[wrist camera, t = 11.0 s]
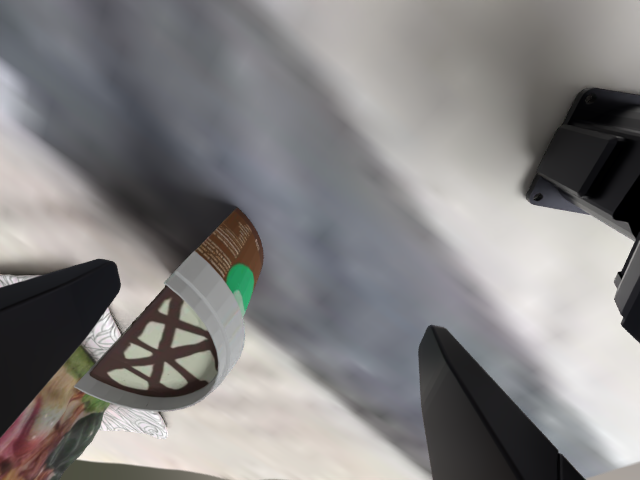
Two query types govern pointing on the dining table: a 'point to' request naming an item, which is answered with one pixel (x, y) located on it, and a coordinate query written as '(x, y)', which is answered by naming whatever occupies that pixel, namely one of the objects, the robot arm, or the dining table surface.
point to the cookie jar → (68, 413)
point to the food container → (185, 327)
